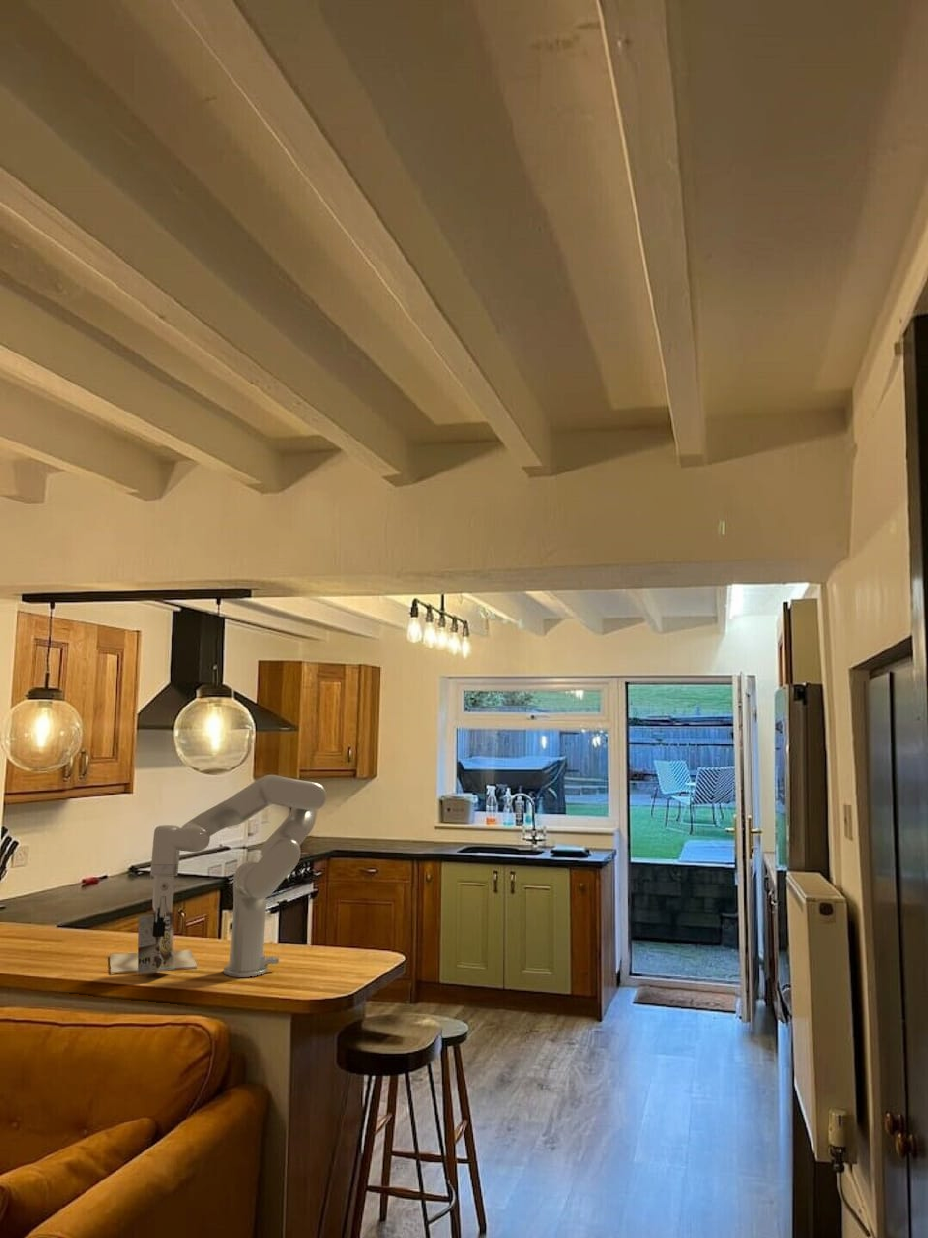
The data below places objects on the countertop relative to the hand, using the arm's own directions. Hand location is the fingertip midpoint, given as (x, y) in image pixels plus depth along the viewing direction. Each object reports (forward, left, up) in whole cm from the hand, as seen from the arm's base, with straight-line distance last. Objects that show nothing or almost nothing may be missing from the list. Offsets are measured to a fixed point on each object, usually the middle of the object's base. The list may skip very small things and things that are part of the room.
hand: (158, 936), depth 247 cm
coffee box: (-1, -5, -11) cm, 12 cm away
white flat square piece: (-1, -21, -12) cm, 25 cm away
